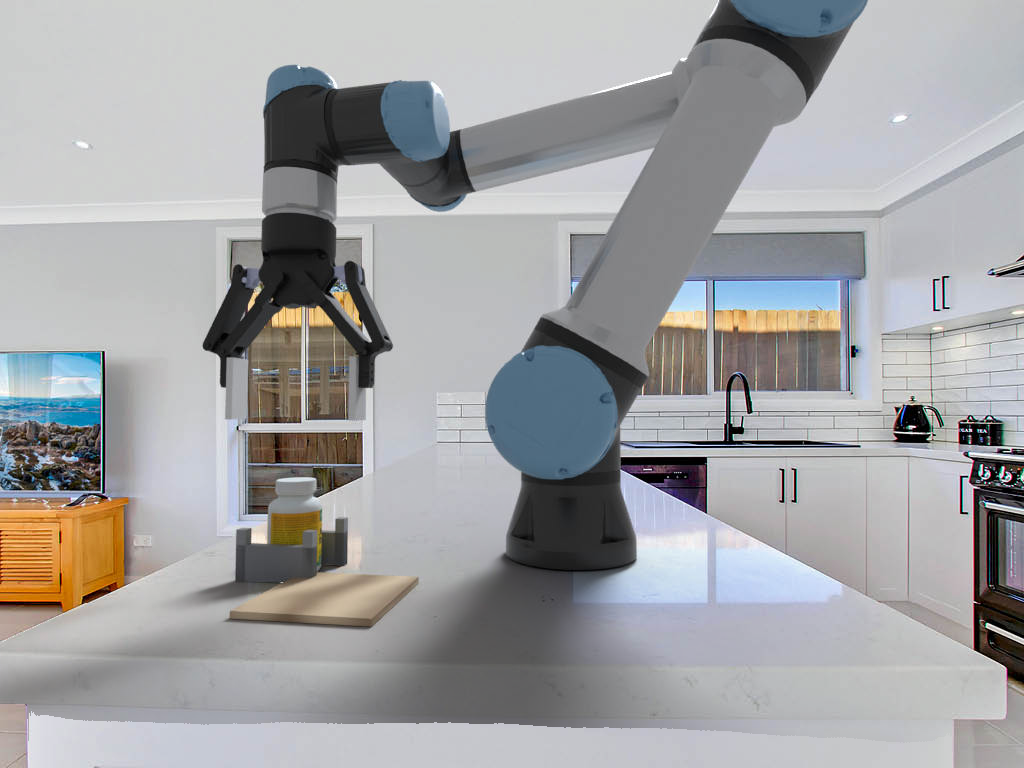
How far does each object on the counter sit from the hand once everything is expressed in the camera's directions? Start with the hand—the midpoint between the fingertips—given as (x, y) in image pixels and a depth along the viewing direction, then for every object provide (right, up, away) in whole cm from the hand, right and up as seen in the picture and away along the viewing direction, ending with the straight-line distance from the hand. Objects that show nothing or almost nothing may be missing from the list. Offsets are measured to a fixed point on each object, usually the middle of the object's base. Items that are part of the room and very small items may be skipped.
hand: (295, 420), depth 63 cm
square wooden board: (+7, -15, -10) cm, 19 cm away
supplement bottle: (0, -16, -1) cm, 16 cm away
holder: (0, -16, -1) cm, 16 cm away
